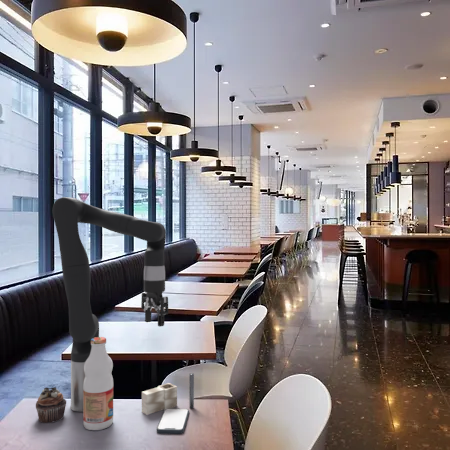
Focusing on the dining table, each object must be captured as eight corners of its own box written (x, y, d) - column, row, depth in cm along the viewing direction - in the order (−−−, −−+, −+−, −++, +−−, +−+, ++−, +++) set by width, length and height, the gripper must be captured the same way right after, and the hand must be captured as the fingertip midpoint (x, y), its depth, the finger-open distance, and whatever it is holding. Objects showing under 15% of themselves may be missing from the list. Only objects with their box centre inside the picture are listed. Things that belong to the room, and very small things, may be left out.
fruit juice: (79, 422, 139) (80, 337, 139) (108, 415, 144) (108, 333, 144) (87, 434, 131) (87, 344, 131) (117, 426, 136) (117, 339, 136)
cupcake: (66, 421, 140) (66, 391, 140) (34, 426, 136) (34, 395, 136) (66, 409, 149) (66, 381, 149) (36, 414, 145) (36, 385, 145)
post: (188, 407, 150) (188, 373, 150) (192, 406, 151) (192, 372, 151) (191, 408, 149) (191, 375, 149) (194, 407, 150) (194, 374, 150)
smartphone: (164, 412, 148) (155, 434, 132) (164, 408, 148) (155, 429, 132) (189, 413, 147) (183, 435, 131) (189, 408, 147) (183, 430, 131)
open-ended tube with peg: (169, 401, 155) (169, 382, 155) (177, 406, 151) (177, 386, 151) (140, 411, 147) (140, 391, 147) (147, 415, 144) (147, 395, 144)
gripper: (174, 279, 146) (174, 326, 146) (153, 275, 157) (152, 319, 157) (156, 281, 141) (156, 329, 141) (135, 277, 152) (135, 322, 152)
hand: (154, 323), depth 149 cm, fingers open, 8 cm apart
